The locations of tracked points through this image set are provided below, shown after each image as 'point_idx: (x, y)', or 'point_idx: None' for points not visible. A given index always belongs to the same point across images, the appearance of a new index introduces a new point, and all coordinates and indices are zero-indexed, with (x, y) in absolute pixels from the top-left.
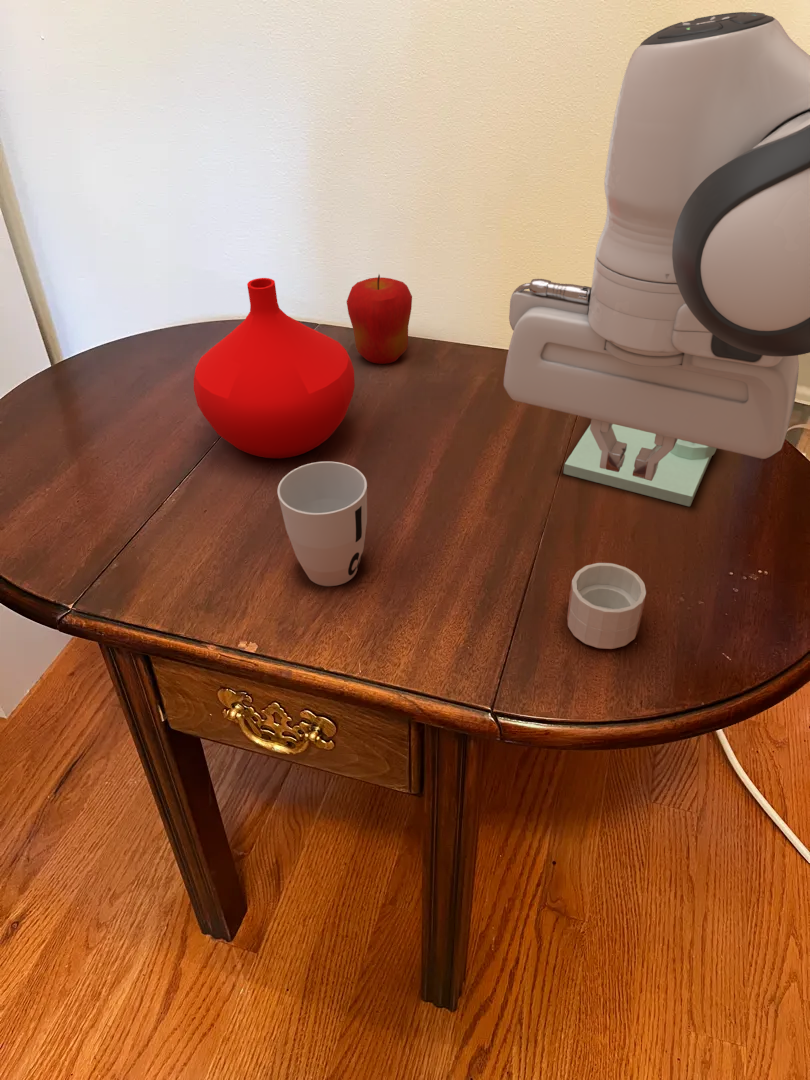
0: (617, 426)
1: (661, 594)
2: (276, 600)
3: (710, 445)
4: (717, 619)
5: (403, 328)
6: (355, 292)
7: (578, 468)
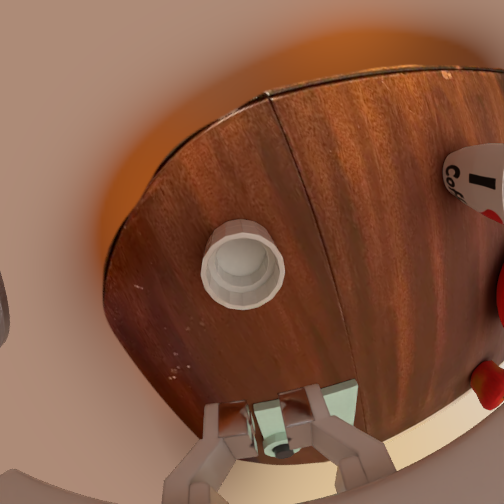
0: None
1: (218, 319)
2: (462, 122)
3: (73, 496)
4: (166, 319)
5: (480, 390)
6: None
7: (346, 388)
